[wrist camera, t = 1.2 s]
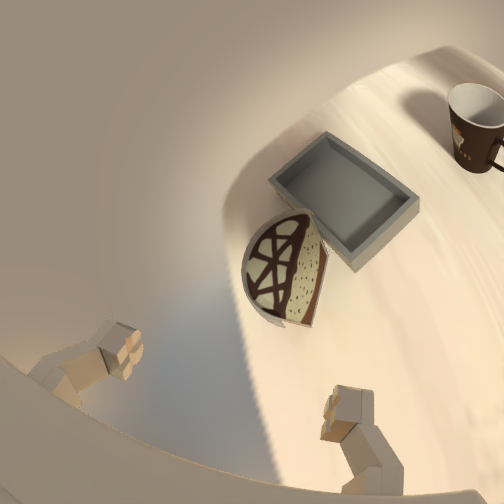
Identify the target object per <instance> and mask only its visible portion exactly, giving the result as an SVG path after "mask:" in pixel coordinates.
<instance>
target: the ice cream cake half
mask: <svg viewBox="0 0 504 504" xmlns="http://www.w3.org/2000/svg"><path fill="white" fill-rule="evenodd" d="M311 215H314V213H313V212H312V211H311V210H310V209H307V208H303V209H295V210H290V211H287V212H284V213H281V214H279V215H277V216H275V217H274V218H272V219H271V220H269V221H268V222H266V223H265V224H264V225H263V226H262V227H261V228H260V229H259V230H258V231H257V232H256V233H255V235H254V236H253V237H252V239H251V240H250V242H249V244H248V246H247V248H246V251H245V253H244V257H243V261H242V269H241V274H242V282H243V287H244V291H245V293H246V296H247V298H248V299H249V301H250V303H251V304H252V306H253V307H254V308H255V309H256V311H257V312H258V313H259V314H260V315H261V316H262V317H263V318H265V319H266V320H267V321H268V322H270V323H272V324H274V325H276V326H279V327H282V328H285V326H284V325H283V323H282V322H281V321H286V322H290V323H294V324H298V325H302V326H306V327H310V328H312V324H313V320H314V316H315V312H316V308H317V304H318V300H319V296H320V292H321V288H322V284H323V279H324V275H325V271H326V266H327V262H328V257H329V255H328V252H327V250H326V248H325V246H324V243H323V241H322V239H321V237H320V234H319V232H318V230H317V228H316V226H315V223H314V221H313V219H312V217H311Z"/></svg>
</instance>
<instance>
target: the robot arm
mask: <svg viewBox="0 0 504 504" xmlns="http://www.w3.org/2000/svg"><path fill="white" fill-rule="evenodd" d="M140 337H141V334H140V331H139V330H137V329H134V328H132V327H129V326H127V325H124V324H122V323H120V322H117V321H115V320H113V319H110V318H109V319H107V320H106V321H105V322H104V323H103V324H102V325H101V326H100V328H99V329H98V330H97V331H96V332H95V333H94V335H93V336H92V337H91V338H90V339H89V340H88V342H86V341H83V342H80V343H78V344H75V345H73V346H70V347H67V348H65V349H62V350H59V351H57V352H54V353H52V354H49V355H46V356H44V357H42V358H41V359H40V361H39V362H38V363H37V364H36V365H35V366H34V367H33V369H32V370H31V371H30V372H29V374H28V375H26V374H24V373H23V372H22V371H20V370H19V369H18V368H16V367H15V366H14V365H13V364H11V363H10V362H9V361H7V360H6V359H5V358H4V357H3V356H1V355H0V504H487V503H486V501H485V500H484V499H483V497H482V496H481V495H480V494H479V493H478V492H477V491H476V490H473V489H470V490H462V491H455V492H446V493H436V494H423V495H403V483H404V467H403V465H402V464H401V462H400V461H399V459H398V457H397V456H396V454H395V453H394V451H393V450H392V448H391V446H390V445H389V443H388V442H387V440H386V439H385V437H384V436H383V434H382V432H381V431H380V429H379V428H378V426H375V425H374V392H373V391H372V390H366V389H360V388H355V387H348V386H342V385H336V386H335V388H334V389H333V395H330V396H329V398H328V400H327V403H326V405H325V410H324V416H323V417H324V418H325V420H326V421H325V422H324V424H323V425H322V431H321V438H320V440H325V441H330V442H336V443H340V446H341V448H342V450H343V453H344V455H345V457H346V459H347V461H348V464H349V466H350V468H351V470H352V473H353V475H354V477H355V478H353V479H352V480H351V481H349V482H348V483H346V484H345V485H344V486H342V492H341V493H330V492H322V491H314V490H306V489H300V488H294V487H288V486H282V485H277V484H272V483H267V482H263V481H257V480H254V479H250V478H246V477H242V476H238V475H234V474H230V473H227V472H223V471H220V470H217V469H213V468H210V467H207V466H204V465H201V464H198V463H195V462H192V461H189V460H186V459H183V458H181V457H178V456H175V455H173V454H170V453H167V452H165V451H162V450H160V449H158V448H155V447H153V446H150V445H148V444H146V443H143V442H141V441H139V440H137V439H135V438H132V437H130V436H128V435H126V434H124V433H122V432H120V431H118V430H116V429H114V428H112V427H110V426H108V425H106V424H104V423H102V422H100V421H98V420H97V419H95V418H93V417H91V416H89V415H88V414H86V413H84V412H82V411H81V410H79V408H80V406H81V405H82V401H81V400H80V398H79V396H78V394H77V393H78V392H80V391H82V390H84V389H85V388H87V387H89V386H91V385H93V384H94V383H96V382H98V381H100V380H102V379H103V378H105V377H107V376H109V374H110V375H112V376H114V377H117V378H119V379H121V380H124V381H126V380H127V378H128V377H129V375H130V374H131V372H132V365H134V364H136V363H138V361H139V360H140V358H141V356H142V353H143V344H142V342H141V341H140V340H139V338H140Z"/></svg>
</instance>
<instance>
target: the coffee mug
mask: <svg viewBox="0 0 504 504" xmlns="http://www.w3.org/2000/svg"><path fill="white" fill-rule="evenodd" d="M448 103H449V109H450V117H451V125H452V134H453V145H454V156H455V159H456V161H457V162H458V164H459V165H460V166H461V167H462V168H464V169H465V170H467V171H469V172H472V173H477V174H480V173H485V172H487V171H489V170H490V169H491V167H492V166H493V167H495V168H496V169H498V170H500V171H502V172H504V168H503V167H502V166H500V165H498V164H497V163H495V162H494V160H495V158H496V156H497V153H498V151H499V148H500V146H501V145H502V146H503V147H504V141H503V138H504V98H503V97H502V96H501V95H500V94H499V93H497V92H496V91H495V90H493V89H491V88H489V87H487V86H484V85H481V84H476V83H462V84H459V85H456V86H454V87H453V88H452V89H451V90H450V91H449V93H448Z"/></svg>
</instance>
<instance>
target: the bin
mask: <svg viewBox="0 0 504 504" xmlns="http://www.w3.org/2000/svg"><path fill="white" fill-rule="evenodd" d="M268 181H269V182H270V183H271V185H272V186H273V188H274V189H275V190H276V192H277V193H278V194H279V195H280V196H281V197H282V198H283V199H284V200H285V201H286V202H287V203H288V204H289V205H290V206H291V207H292V208H293V209H294V210H295V209H303V208H307V209H310V210H311V211H312V212H313V213H314V215H311V217H312V219H313V221H314V223H315V226H316V228H317V230H318V232H319V234H320V236H321V238H322V239H323V240H324V241H325V242H326V243H327V244H328V245H329V246H330V247H331V248H332V249H333V250H334V251H335V252H336V253H337V254H338V255H339V256H340V257H341V259H342V260H343V261H344V262H345V263H346V264H347V265H348V266H349V267H350V268H351V269H352V270H353V271H354V273H356V272H357V271H358V270H359V269H360V268H362V267H363V266H364V265H365V264H366V263H367V262H368V261H369V260H370V259H371V258H373V257H374V256H375V255H376V254H377V253H378V252H379V251H380V250H381V249H382V248H383V247H384V246H385V245H386V244H387V243H389V242H390V241H391V240H392V239H393V238H394V237H395V236H396V235H397V234H398V233H399V232H400V231H401V230H402V229H403V228H404V227H405V226H406V225H407V224H408V223H409V222H410V221H411V220H412V219H413V218H414V217H415V216H416V215H417V214H418V213H419V201H420V197H419V196H417V195H416V194H415V193H414V192H412V191H411V190H410V189H409V188H407V187H406V186H405V185H403V184H402V183H401V182H400V181H398V180H397V179H396V178H394V177H393V176H392V175H390V174H389V173H388V172H386V171H385V170H384V169H382V168H381V167H379V166H378V165H377V164H375V163H374V162H372V161H371V160H370V159H368V158H367V157H365V156H364V155H362V154H361V153H359V152H358V151H357V150H355V149H354V148H352V147H351V146H349V145H348V144H346V143H345V142H343V141H341V140H340V139H338V138H337V137H335V136H334V135H332V134H331V133H329V132H327V131H326V132H325V133H324V134H322V135H321V136H320V137H319V138H317V139H316V140H315V141H314V142H313V143H311V144H310V145H309V146H308V147H306V148H305V149H304V150H303V151H302V152H300V153H299V154H298V155H297V156H296V157H294V158H293V159H292V160H291V161H290V162H288V163H287V164H286V165H285V166H284V167H283V168H281V169H280V170H279V171H278V172H277V173H275V174H274V175H273V176H272V177H271V178H270V179H268Z"/></svg>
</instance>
